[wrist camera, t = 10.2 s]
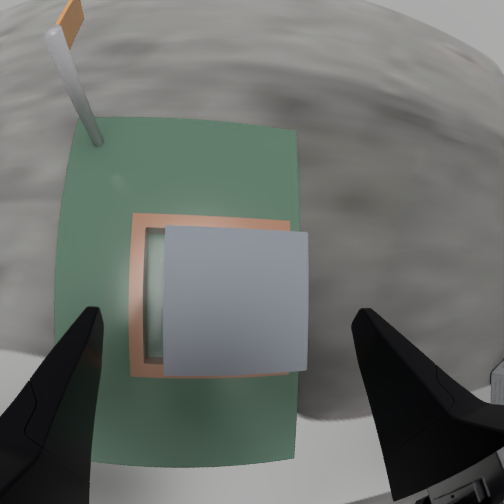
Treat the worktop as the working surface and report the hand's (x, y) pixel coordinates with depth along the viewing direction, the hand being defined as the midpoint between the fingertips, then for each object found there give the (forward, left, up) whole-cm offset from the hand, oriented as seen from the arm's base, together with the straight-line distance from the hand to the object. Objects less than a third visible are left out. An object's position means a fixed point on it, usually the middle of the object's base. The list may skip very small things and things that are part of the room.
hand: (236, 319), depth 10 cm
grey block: (+1, 0, -9) cm, 9 cm away
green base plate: (+1, +2, -10) cm, 10 cm away
